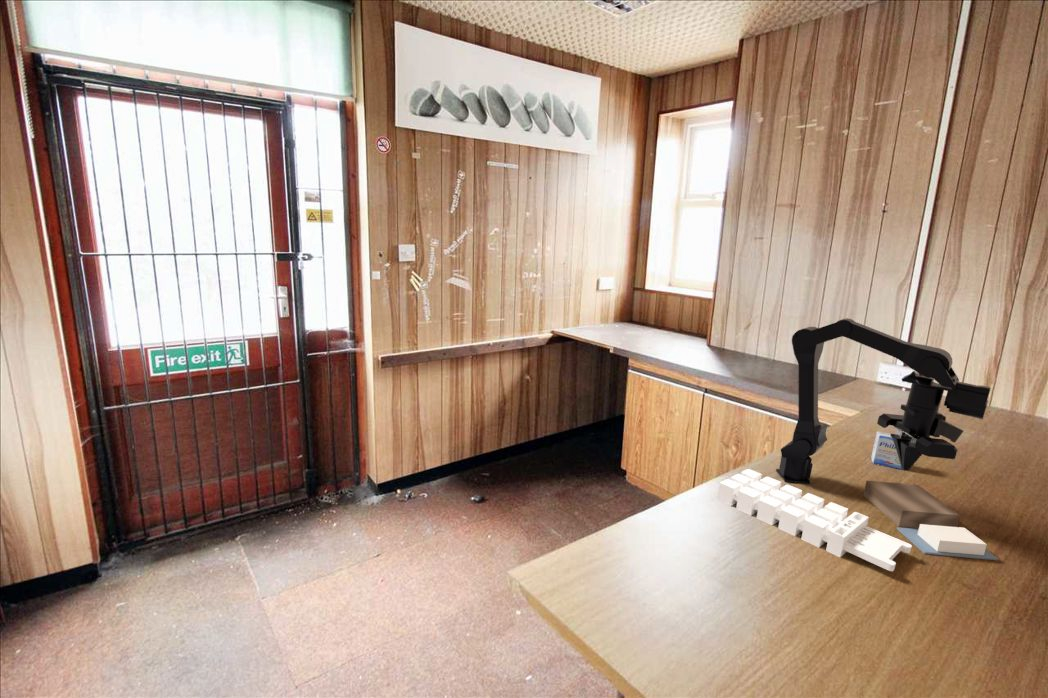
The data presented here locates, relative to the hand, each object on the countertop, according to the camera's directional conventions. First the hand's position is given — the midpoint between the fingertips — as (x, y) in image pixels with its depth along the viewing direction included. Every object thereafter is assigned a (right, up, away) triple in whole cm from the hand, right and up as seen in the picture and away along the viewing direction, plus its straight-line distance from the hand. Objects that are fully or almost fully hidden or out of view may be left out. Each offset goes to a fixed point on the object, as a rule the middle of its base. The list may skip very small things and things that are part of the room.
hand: (905, 469), depth 118 cm
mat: (+1, -13, -10) cm, 16 cm away
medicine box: (+16, -5, +29) cm, 34 cm away
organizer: (-25, -12, -5) cm, 28 cm away
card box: (+2, -11, -11) cm, 16 cm away
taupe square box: (+2, -11, +3) cm, 11 cm away
